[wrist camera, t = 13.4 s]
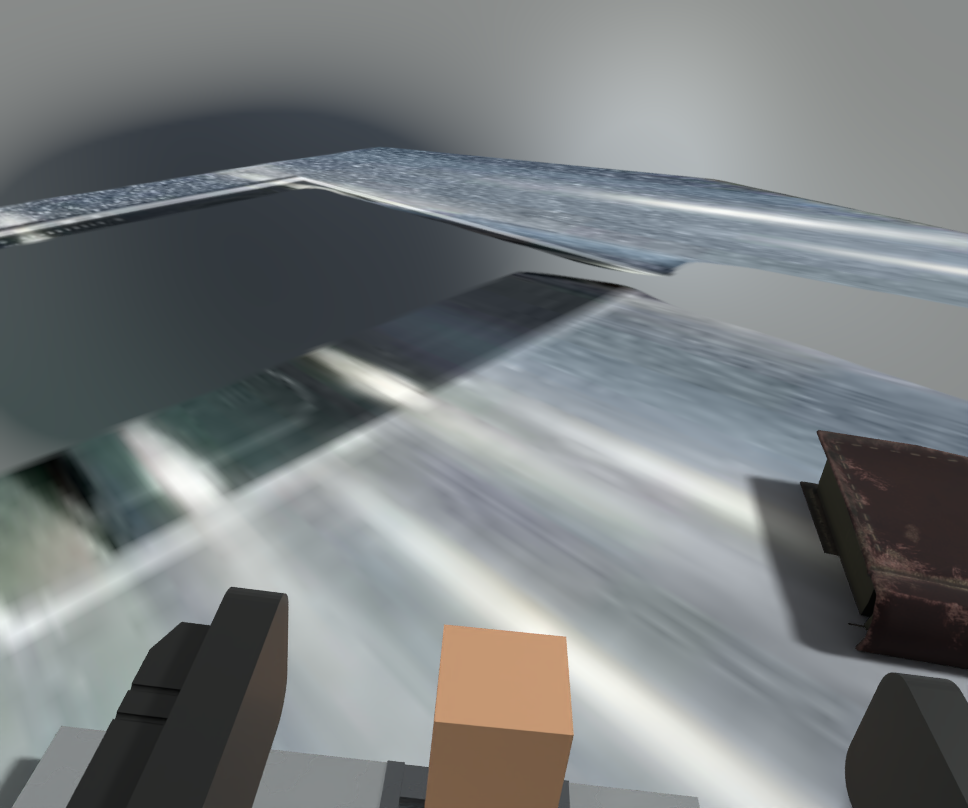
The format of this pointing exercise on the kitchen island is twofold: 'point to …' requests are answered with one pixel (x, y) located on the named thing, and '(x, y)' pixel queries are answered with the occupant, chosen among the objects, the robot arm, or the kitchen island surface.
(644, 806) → the grey slotted base
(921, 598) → the diary
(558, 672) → the block
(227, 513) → the kitchen island surface
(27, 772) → the kitchen island surface
